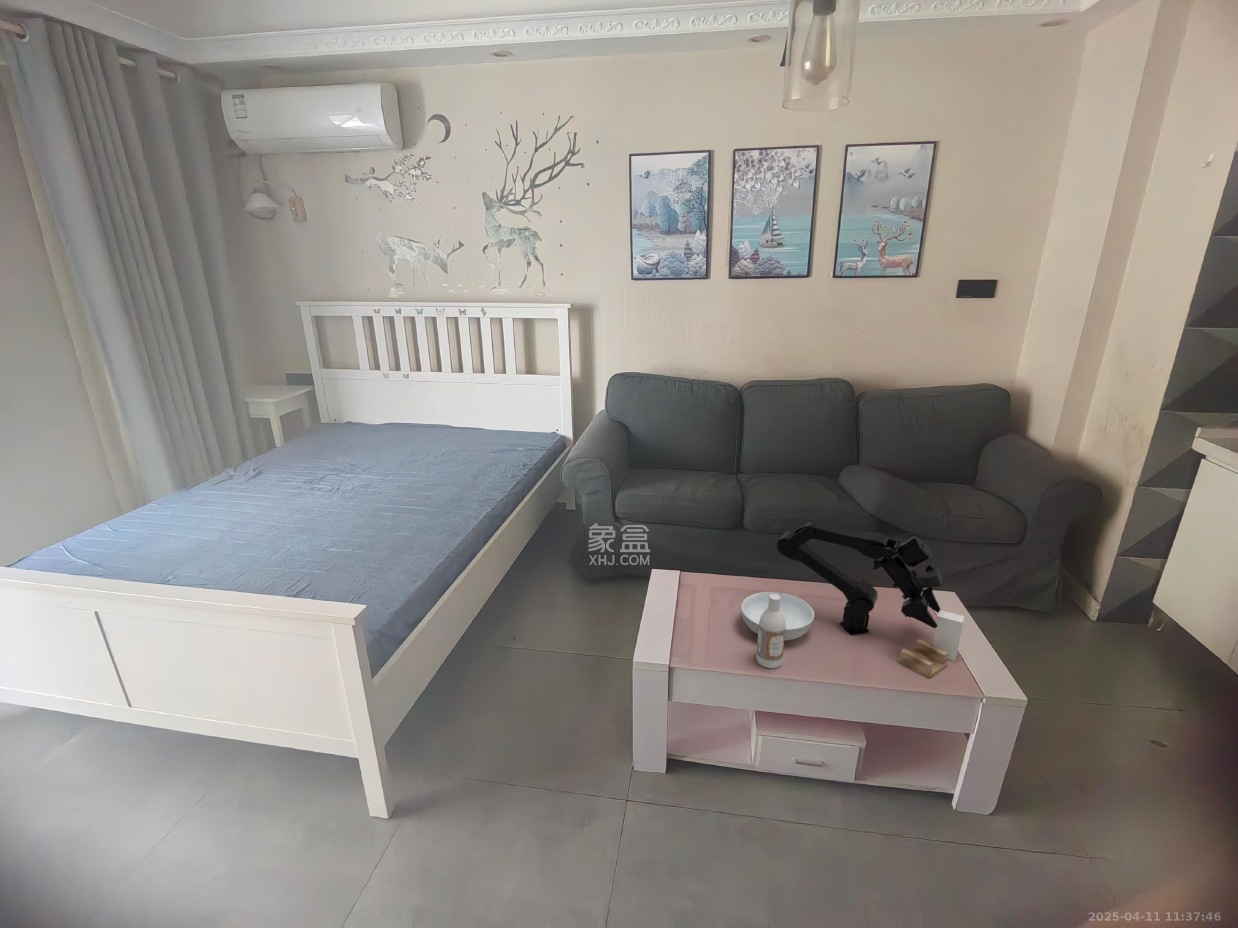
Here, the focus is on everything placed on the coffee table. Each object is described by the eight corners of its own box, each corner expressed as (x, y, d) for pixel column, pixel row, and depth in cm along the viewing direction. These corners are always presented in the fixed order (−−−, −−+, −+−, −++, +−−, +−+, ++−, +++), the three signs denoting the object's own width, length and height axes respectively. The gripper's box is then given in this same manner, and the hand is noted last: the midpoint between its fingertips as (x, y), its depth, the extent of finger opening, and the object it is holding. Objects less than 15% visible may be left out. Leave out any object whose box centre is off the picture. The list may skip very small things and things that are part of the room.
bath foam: (763, 670, 163) (768, 604, 157) (751, 655, 170) (756, 591, 164) (786, 667, 165) (793, 601, 159) (774, 652, 171) (780, 588, 165)
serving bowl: (740, 607, 194) (741, 588, 192) (809, 614, 190) (811, 595, 188) (739, 645, 175) (740, 624, 173) (815, 654, 171) (817, 632, 169)
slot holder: (897, 661, 167) (899, 649, 166) (915, 649, 172) (917, 638, 171) (929, 678, 160) (931, 666, 159) (947, 665, 165) (949, 653, 164)
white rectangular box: (931, 653, 171) (938, 616, 167) (932, 647, 174) (939, 609, 170) (955, 660, 168) (963, 622, 164) (956, 653, 171) (964, 616, 167)
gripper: (921, 573, 159) (962, 623, 157) (929, 547, 174) (967, 591, 172) (884, 592, 166) (923, 640, 163) (896, 565, 181) (932, 608, 178)
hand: (938, 619), depth 169 cm, fingers open, 9 cm apart
